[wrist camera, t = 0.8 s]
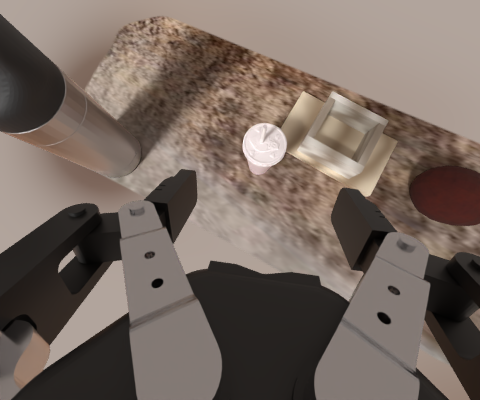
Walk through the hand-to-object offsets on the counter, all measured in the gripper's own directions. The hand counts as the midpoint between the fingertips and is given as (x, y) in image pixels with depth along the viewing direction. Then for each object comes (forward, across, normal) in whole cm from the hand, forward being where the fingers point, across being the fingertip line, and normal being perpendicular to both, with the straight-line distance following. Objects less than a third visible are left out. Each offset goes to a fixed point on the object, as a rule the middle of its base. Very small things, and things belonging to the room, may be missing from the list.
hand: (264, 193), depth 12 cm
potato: (+26, -31, +12) cm, 42 cm away
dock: (+31, -13, +5) cm, 34 cm away
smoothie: (+26, 0, +9) cm, 28 cm away
